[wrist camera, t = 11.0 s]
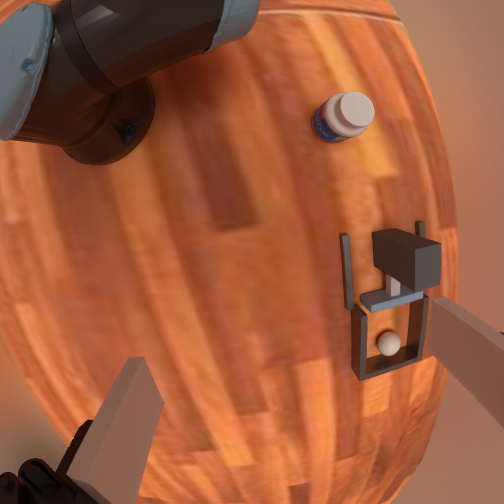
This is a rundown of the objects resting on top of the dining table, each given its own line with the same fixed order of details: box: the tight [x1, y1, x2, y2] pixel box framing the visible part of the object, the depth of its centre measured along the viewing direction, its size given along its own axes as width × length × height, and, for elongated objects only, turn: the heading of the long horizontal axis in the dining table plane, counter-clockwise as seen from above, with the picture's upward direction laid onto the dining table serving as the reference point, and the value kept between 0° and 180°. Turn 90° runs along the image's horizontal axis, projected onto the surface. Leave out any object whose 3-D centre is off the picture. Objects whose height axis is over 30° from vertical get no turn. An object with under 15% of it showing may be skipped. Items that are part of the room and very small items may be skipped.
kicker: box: [360, 228, 441, 313], centre depth 33 cm, size 10×9×11 cm
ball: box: [377, 332, 401, 356], centre depth 40 cm, size 4×4×4 cm
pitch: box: [340, 221, 429, 381], centre depth 38 cm, size 23×14×4 cm, turn 10°
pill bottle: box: [312, 91, 375, 143], centre depth 29 cm, size 6×5×10 cm
